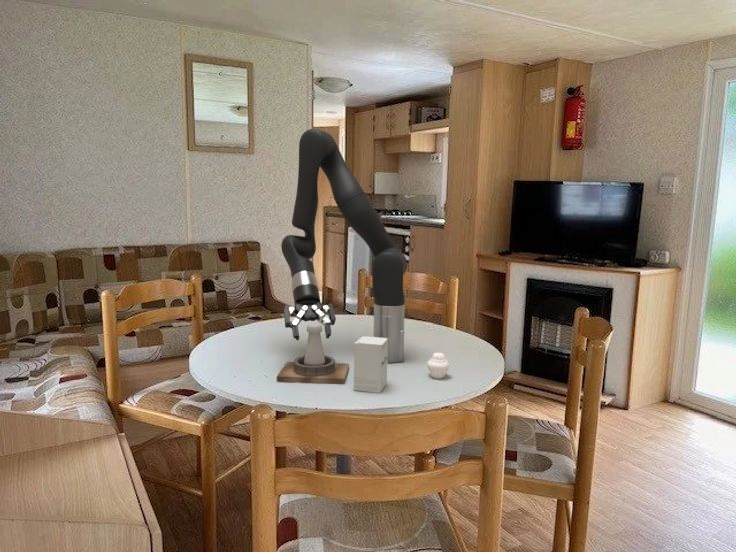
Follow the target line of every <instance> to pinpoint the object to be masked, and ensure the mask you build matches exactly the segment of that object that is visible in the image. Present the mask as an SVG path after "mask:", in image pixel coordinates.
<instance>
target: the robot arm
mask: <svg viewBox="0 0 736 552" xmlns="http://www.w3.org/2000/svg"><path fill="white" fill-rule="evenodd" d="M320 169H321V170H322V172H323V173H324V175H325V176H326V178H327V180H328V182H329V185H330V189H331V192H332V196H333V199H334V202H335V205H337V208H338V210H339V212H340V213H341V215H342V216H343V218H344V220H345V221H346V222H347V224H348V225H349V226H350V228H351V229H352V230H353V231H354V232H355V233H356V234H357V235H358V236H359V237H360V238H361V239H362V240H363V241H364V242H365V243H366V245H367V247H368V249H369V250H370V251H371V254H372V256H373V257H374V260H373V263H372V273H371V276H372V278H371V279H372V280H371V281H372V295H373V337H380V338H388V359H387V364H395V363H399V362H402V363H403V362H404V357H405V355H404V353H405V352H404V351H405V350H404V349H405V306H406V305H405V304H406V300H405V299H406V296H405V293H404V275H405V274H406V271H407V269H408V260H407V258H406V255H405V254H404V253H403V251H402V250H401V249H400V248H399V246H398V245H397V244H396V243H395V241H394V240H393V238H392V237H391V236H390V234H389V233H388V232H387V230H386V228H385V225H384V224H383V222H382V220H381V218H380V216H379V214H378V213H377V211H376V210H375V208H374V206H373V204H372V202H371V200H370V199H369V197H368V195H367V193H366V192H365V190H364V189H363V187H362V186H361V185H360V183H359V181H358V180H357V178H356V177H355V175H354V174H353V172H352V171H351V170H350V168H349V167H348V165H347V163H346V161H345V159H344V157H343V155H342V153H341V151H340V148H339V146H338V143H336V141H335V138H334V137H333V136H332V134H330V133H329V132H327V131H325V130H320V129H319V128H310V129H307V130H306V131H304V132H303V133H302V135H301V137H300V138H299V142H298V170H297V171H298V174H297V188H296V195H295V202H294V206H293V213H292V218H291V220H292V221H291V225H292V226H293V228H296V229H300V230H301V231H303V233H304V236H303V235H297V234H296V235H293V234H288V235H286V236H284V237H283V239H282V241H281V245H280V246H281V252H282V255H283V257H284V259H285V261H286V263H287V265H288V267H289V270H290V275H291V291H292V295H293V303H294V307H293V306H289V305H285V306H284V311H283V313H284V327H285V328H286V329H288V328H290V329H291V331H292V337H293V339H295V341H299V340H300V333H299V325H300V323H302V321H304V322H309V321H311V322H315V321H317V323H320V324H321V325H322V326H323V328H324V333H325V339H329V338H330V337H331V336H332V327H331V326H334V325H335V323H336V321H337V317H336V314H335V310H334V306H333V303H331V302H330V303H328V305H323V304H322V303H321V297H320V291H319V285H318V281H317V278H316V273H315V267H314V263H313V261H312V260H311V259H312V258H313V257H314V256H315V254H316V250H317V246H316V245H317V244H316V236H315V234H316V233H315V229H316V228H315V224H316V218H317V212H318V207H319V191H318V189H319V187H318V178H319V177H318V176H319V171H320ZM323 311H325V313H326V314H327V315H328V317H327V316H326V315H325V313H324V312H323ZM292 313H294V314H295V315H296V317H295V319H294V320H291V316H292Z"/></svg>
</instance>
